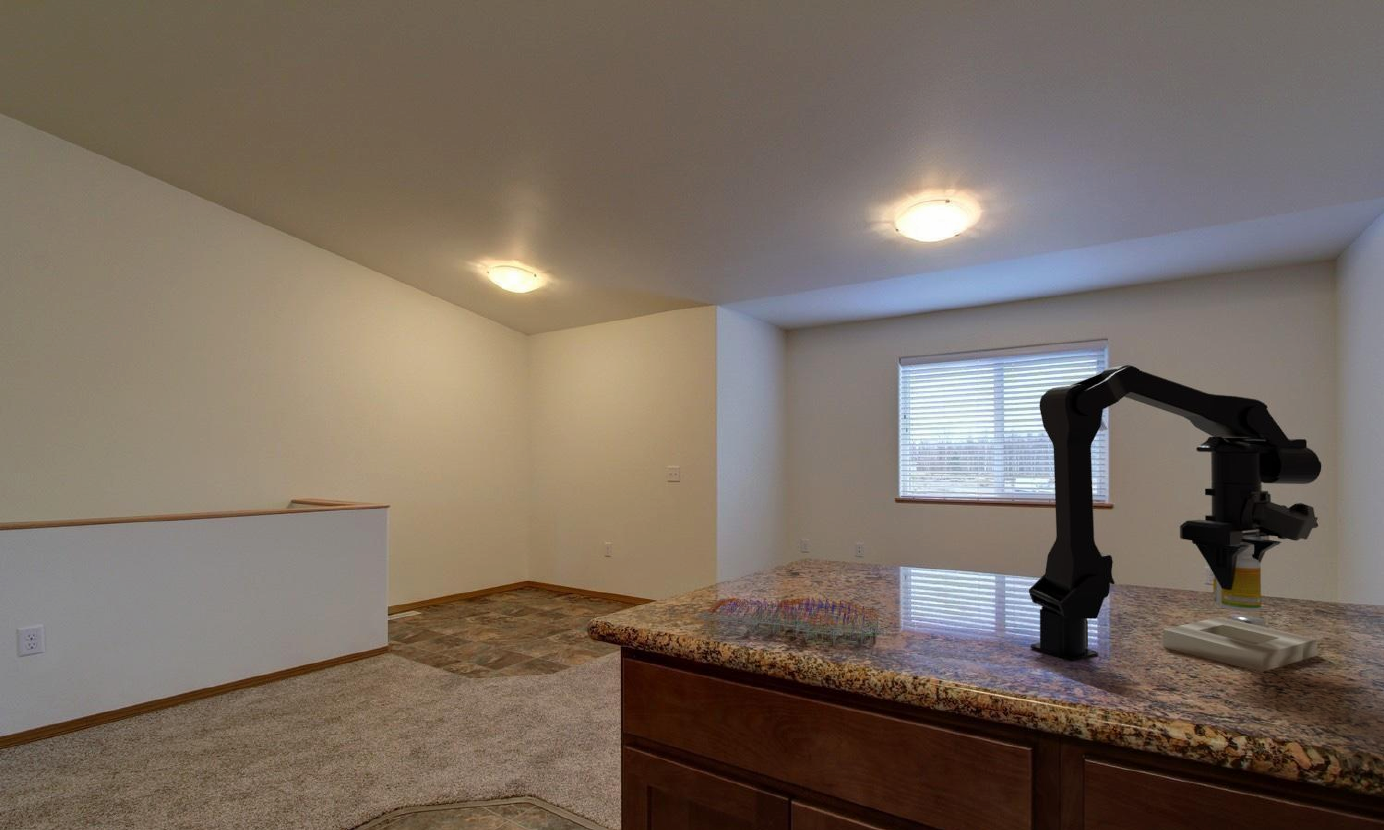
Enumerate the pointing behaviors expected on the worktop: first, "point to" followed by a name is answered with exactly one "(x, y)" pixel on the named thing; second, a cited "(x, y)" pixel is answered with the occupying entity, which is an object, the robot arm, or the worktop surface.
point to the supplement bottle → (1241, 585)
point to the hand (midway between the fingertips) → (1236, 587)
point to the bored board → (1240, 643)
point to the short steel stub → (1248, 619)
